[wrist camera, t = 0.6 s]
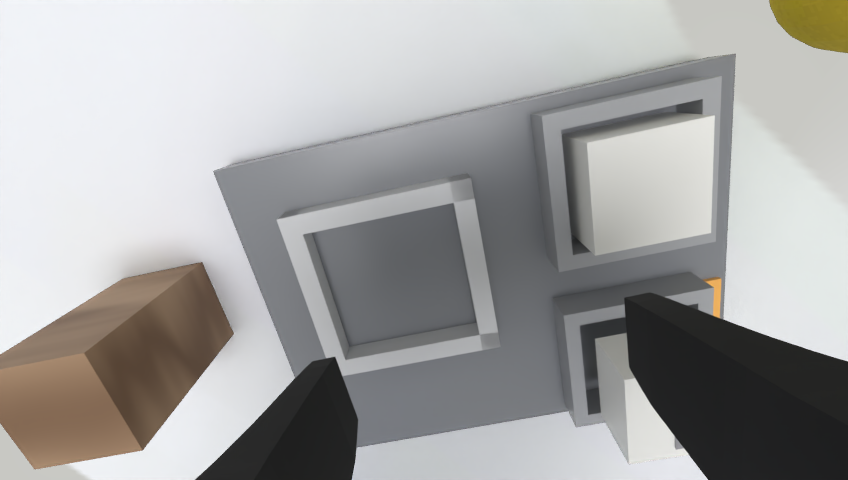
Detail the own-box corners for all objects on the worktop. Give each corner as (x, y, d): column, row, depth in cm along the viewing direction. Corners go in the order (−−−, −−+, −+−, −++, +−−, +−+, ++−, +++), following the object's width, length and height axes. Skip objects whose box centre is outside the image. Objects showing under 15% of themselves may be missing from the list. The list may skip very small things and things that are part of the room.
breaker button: (694, 399, 17) (739, 449, 15) (601, 414, 18) (630, 467, 15) (696, 319, 16) (745, 361, 13) (594, 338, 16) (625, 382, 14)
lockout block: (233, 333, 20) (142, 450, 14) (159, 348, 20) (34, 469, 14) (202, 261, 19) (83, 352, 12) (122, 278, 19) (-35, 376, 12)
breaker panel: (699, 365, 21) (764, 428, 17) (331, 430, 22) (311, 502, 18) (707, 57, 16) (802, 45, 12) (230, 164, 17) (173, 186, 13)
